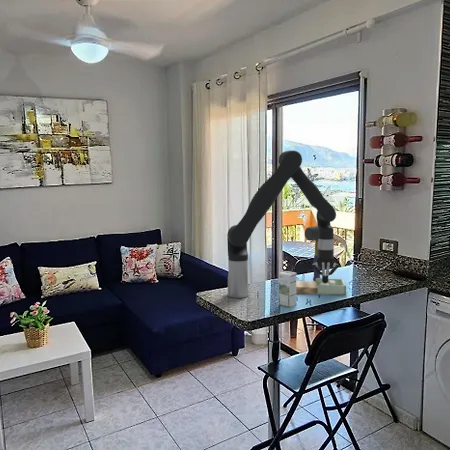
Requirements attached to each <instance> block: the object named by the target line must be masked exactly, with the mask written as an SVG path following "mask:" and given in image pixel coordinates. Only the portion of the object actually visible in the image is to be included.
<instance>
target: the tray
mask: <svg viewBox="0 0 450 450" xmlns="http://www.w3.org/2000/svg"><path fill="white" fill-rule="evenodd" d="M329 280H334V281H335V285H320V283H323V282H322V277H320V278H316V283H317V287H318V292H317V294H316V295H322V296H323V295H324V296H325V295H326V296H329V295H330V296H332V295H333V296H346V295H347V285H346V282H345V281H344V279H343V278H329V277H328V282H327V283H329Z"/></svg>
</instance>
